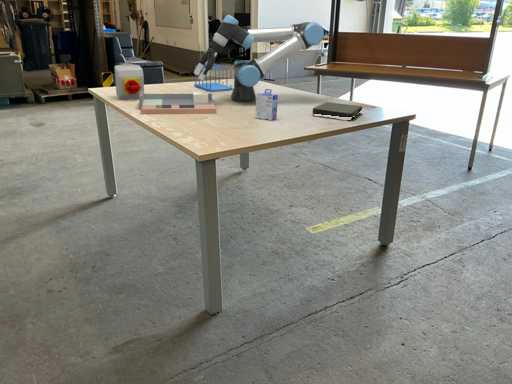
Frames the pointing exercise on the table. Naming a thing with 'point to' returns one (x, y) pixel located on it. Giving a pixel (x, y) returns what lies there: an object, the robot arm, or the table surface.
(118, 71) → the electrical switch box
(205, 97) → the block
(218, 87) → the file sorter
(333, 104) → the network switch
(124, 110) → the table surface
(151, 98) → the trap box
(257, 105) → the ink cartridge box
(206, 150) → the table surface
